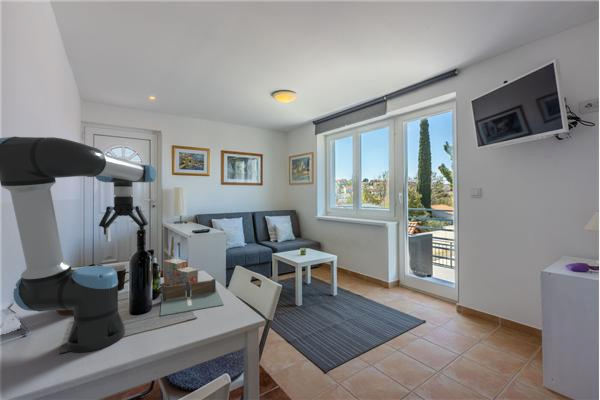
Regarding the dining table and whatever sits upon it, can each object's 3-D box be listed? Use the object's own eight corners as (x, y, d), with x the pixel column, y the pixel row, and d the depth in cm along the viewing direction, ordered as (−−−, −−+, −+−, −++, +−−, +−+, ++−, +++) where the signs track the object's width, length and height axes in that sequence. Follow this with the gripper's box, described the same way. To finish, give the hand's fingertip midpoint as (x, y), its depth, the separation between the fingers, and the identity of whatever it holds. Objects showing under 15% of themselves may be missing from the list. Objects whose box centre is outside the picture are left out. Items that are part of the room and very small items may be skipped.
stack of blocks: (198, 287, 139) (197, 263, 138) (187, 291, 134) (186, 266, 133) (174, 280, 151) (174, 257, 151) (163, 283, 146) (163, 260, 146)
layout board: (223, 305, 117) (223, 304, 117) (160, 316, 106) (160, 315, 106) (215, 287, 138) (215, 286, 138) (162, 295, 128) (162, 294, 128)
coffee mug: (101, 290, 135) (101, 270, 134) (119, 285, 142) (119, 266, 142) (116, 294, 130) (115, 273, 129) (134, 288, 137) (133, 268, 137)
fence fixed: (190, 297, 125) (190, 282, 125) (162, 301, 120) (162, 285, 120) (190, 296, 127) (190, 280, 126) (162, 300, 122) (162, 284, 122)
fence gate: (215, 291, 130) (215, 279, 130) (191, 295, 125) (191, 282, 125) (215, 291, 131) (215, 278, 131) (191, 294, 127) (191, 282, 126)
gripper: (154, 195, 134) (155, 239, 135) (98, 196, 130) (99, 240, 131) (148, 195, 127) (149, 241, 127) (89, 196, 123) (90, 243, 123)
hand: (124, 241), depth 129 cm, fingers open, 13 cm apart
